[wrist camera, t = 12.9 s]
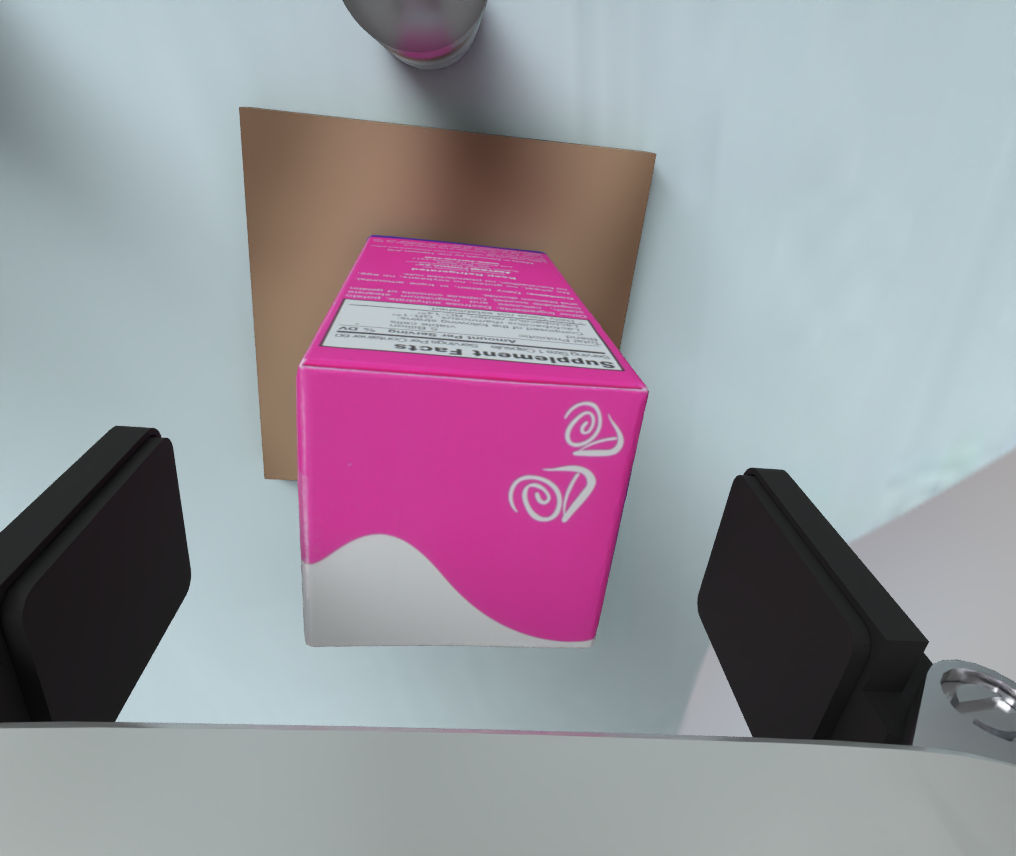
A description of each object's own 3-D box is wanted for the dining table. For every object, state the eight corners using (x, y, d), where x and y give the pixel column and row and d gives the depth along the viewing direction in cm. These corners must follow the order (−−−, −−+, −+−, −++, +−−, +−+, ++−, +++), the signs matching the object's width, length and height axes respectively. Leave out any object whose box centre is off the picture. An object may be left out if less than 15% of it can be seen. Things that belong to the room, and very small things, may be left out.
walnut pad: (647, 151, 20) (656, 153, 19) (587, 481, 26) (591, 495, 25) (248, 107, 19) (239, 107, 18) (271, 465, 24) (264, 478, 23)
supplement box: (532, 414, 23) (595, 663, 13) (361, 402, 22) (283, 655, 12) (556, 248, 20) (659, 391, 10) (364, 228, 20) (269, 360, 9)
